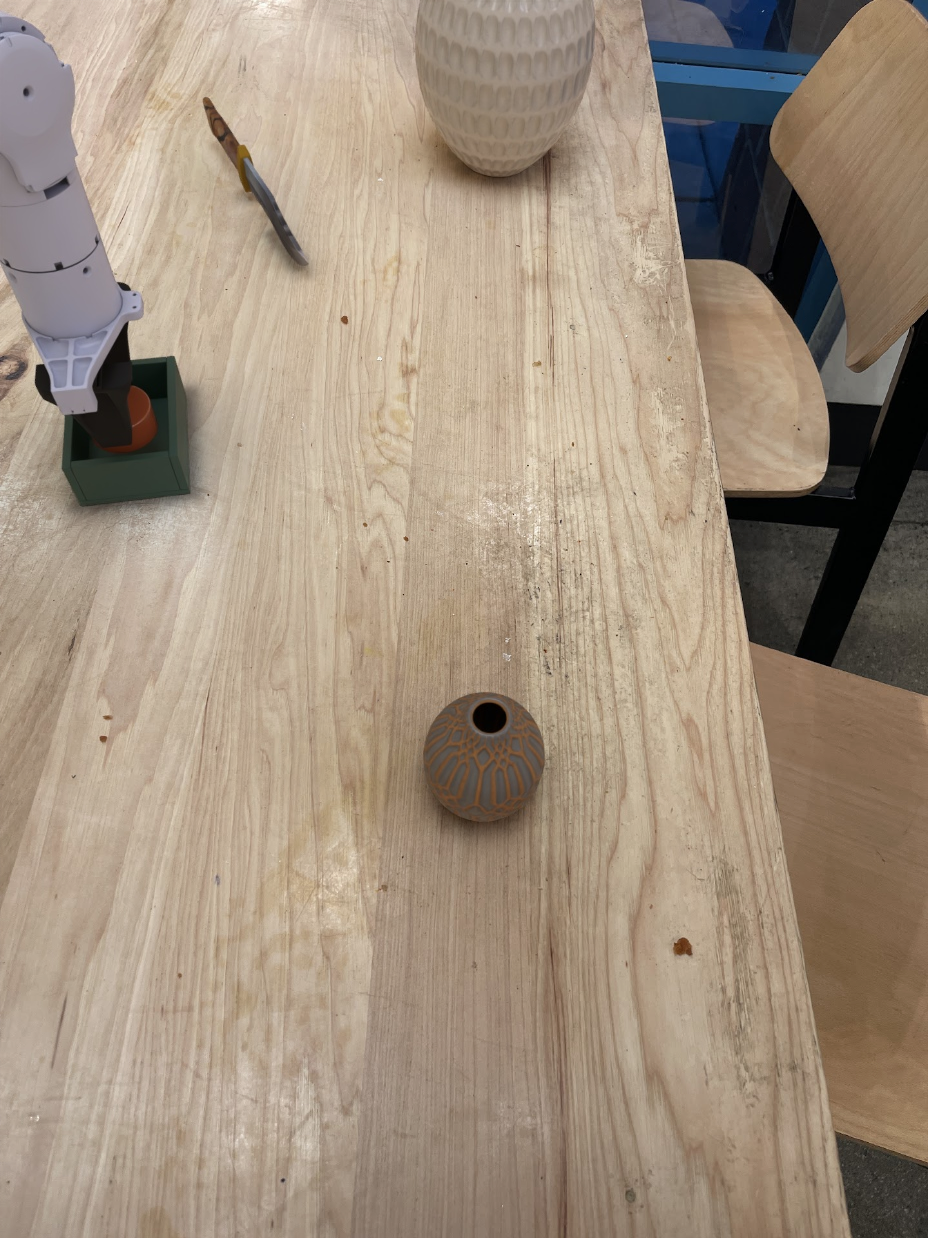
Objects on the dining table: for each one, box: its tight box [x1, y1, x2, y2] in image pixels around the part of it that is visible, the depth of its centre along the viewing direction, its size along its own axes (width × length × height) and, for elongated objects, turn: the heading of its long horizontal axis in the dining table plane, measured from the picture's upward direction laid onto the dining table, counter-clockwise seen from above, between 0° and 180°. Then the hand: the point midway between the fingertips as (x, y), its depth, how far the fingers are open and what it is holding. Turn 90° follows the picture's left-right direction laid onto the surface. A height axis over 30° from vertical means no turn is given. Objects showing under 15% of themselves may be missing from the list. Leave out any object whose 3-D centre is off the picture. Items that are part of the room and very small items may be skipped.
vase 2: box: [422, 691, 546, 822], centre depth 50 cm, size 7×7×9 cm
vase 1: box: [414, 0, 596, 178], centre depth 80 cm, size 16×16×22 cm
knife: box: [202, 96, 310, 267], centre depth 81 cm, size 25×1×5 cm, turn 28°
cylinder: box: [91, 385, 158, 453], centre depth 62 cm, size 5×5×2 cm
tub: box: [61, 355, 191, 507], centre depth 65 cm, size 8×10×4 cm
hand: (117, 416), depth 62 cm, fingers closed on cylinder, 4 cm apart
